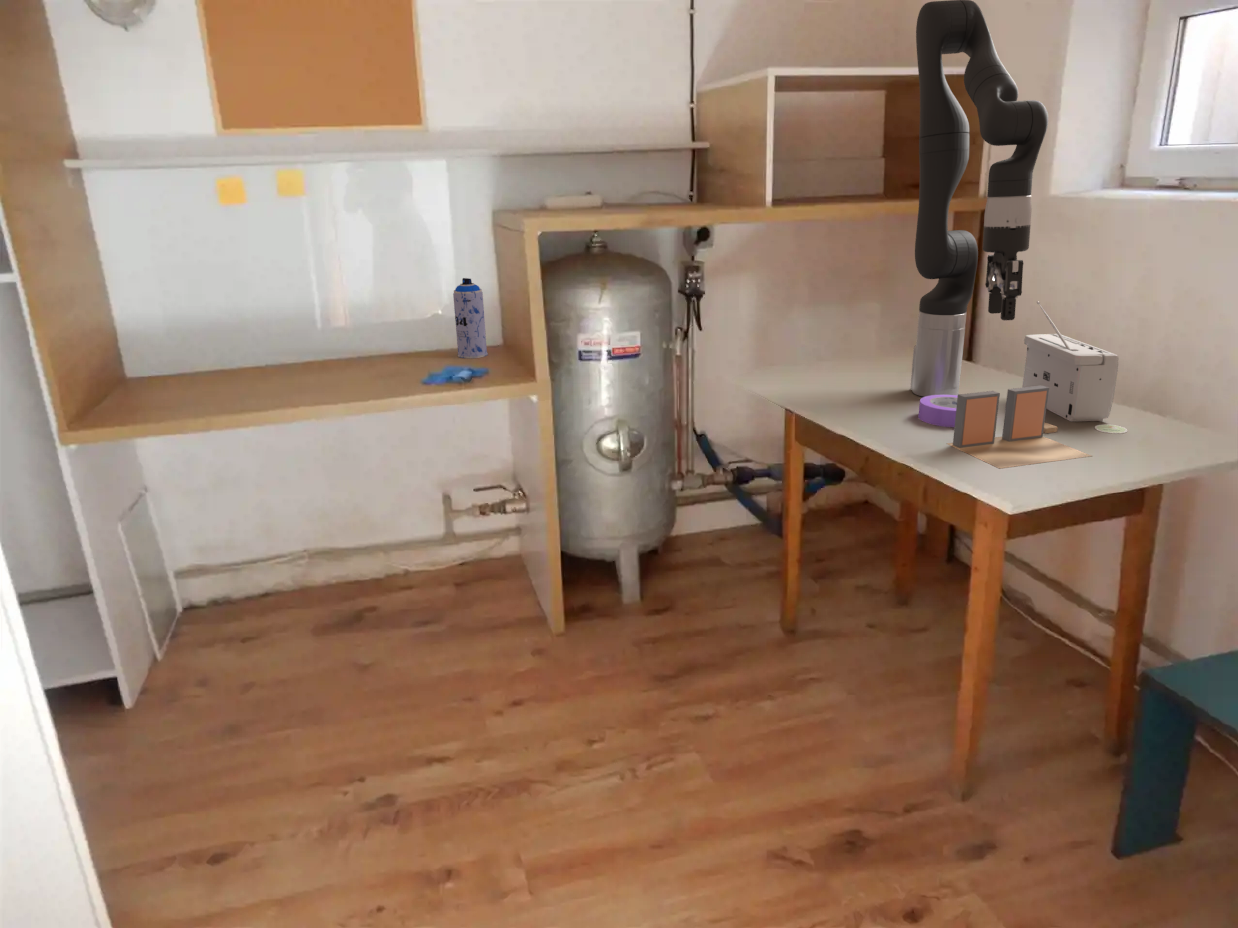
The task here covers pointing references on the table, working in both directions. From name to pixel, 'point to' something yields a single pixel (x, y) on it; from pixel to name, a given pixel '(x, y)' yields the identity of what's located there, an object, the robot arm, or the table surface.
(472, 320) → the aerosol can
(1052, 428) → the wooden turner
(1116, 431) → the sign
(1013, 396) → the slate tile far
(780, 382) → the table surface
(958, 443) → the slate tile near
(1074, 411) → the stereo radio cassette player
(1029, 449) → the cork mat
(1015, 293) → the robot arm
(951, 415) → the masking tape
